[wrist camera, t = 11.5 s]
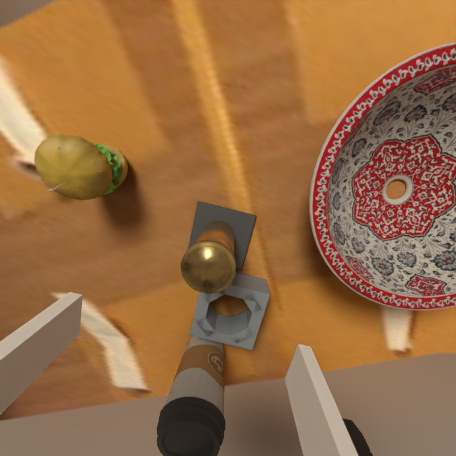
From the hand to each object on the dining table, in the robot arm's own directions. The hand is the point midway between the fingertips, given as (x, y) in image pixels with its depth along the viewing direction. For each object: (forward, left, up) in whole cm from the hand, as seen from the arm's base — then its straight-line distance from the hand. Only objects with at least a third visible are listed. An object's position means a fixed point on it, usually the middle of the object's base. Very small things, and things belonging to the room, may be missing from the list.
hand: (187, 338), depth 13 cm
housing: (+4, -10, -22) cm, 25 cm away
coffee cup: (+2, -21, -22) cm, 30 cm away
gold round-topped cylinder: (0, 0, -21) cm, 21 cm away
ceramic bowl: (+23, +13, -22) cm, 35 cm away
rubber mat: (0, 0, -22) cm, 22 cm away
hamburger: (-18, +6, -22) cm, 29 cm away
